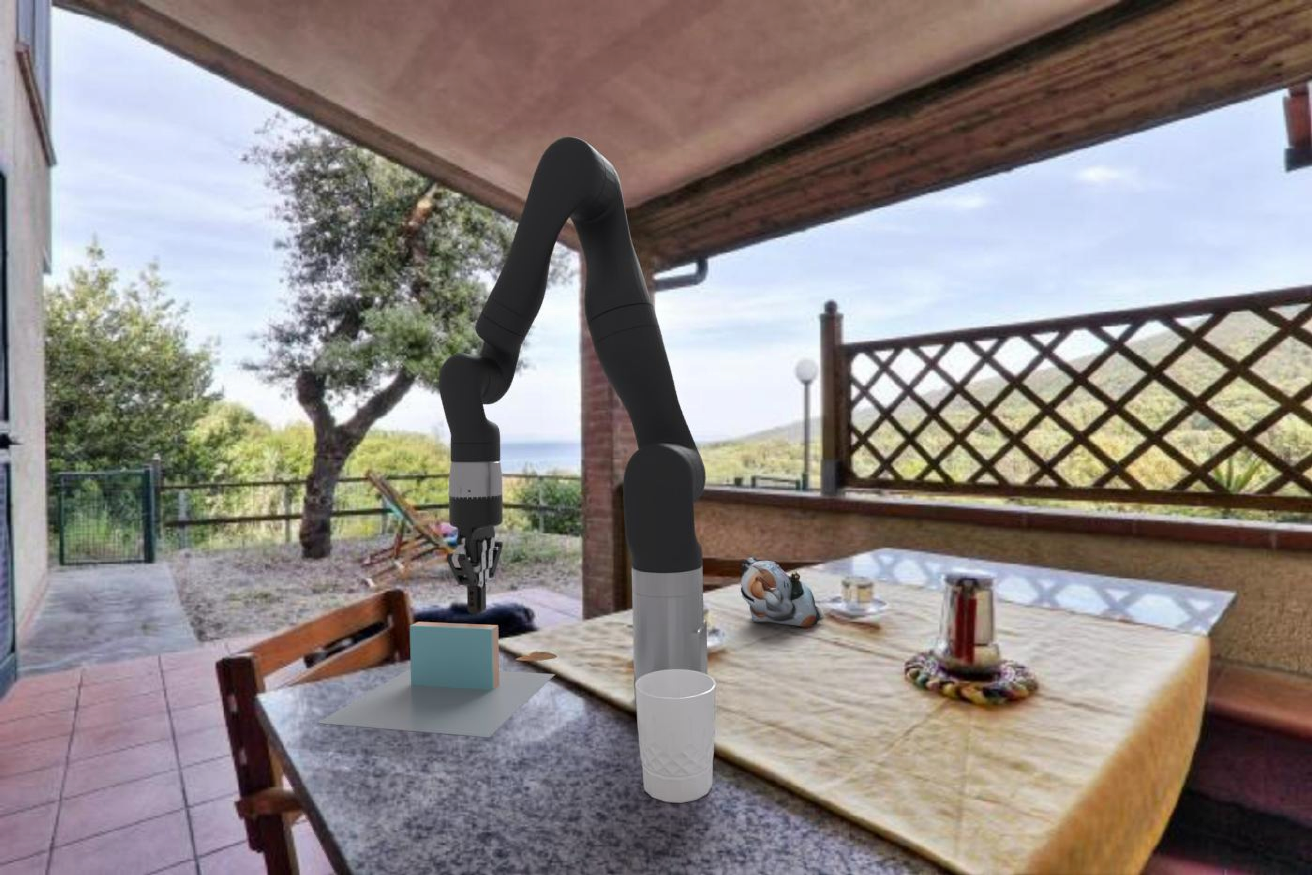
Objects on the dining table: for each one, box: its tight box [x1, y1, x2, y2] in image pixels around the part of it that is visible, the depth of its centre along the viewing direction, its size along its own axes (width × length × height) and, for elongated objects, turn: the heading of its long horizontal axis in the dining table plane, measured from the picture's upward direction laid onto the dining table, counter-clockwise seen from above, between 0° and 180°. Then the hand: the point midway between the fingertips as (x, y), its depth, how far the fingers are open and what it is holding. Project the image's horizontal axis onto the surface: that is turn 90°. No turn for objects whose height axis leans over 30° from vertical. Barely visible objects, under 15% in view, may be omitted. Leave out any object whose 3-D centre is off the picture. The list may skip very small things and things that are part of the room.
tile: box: [409, 621, 500, 690], centre depth 90 cm, size 12×2×8 cm, turn 77°
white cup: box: [635, 669, 717, 804], centre depth 65 cm, size 8×8×10 cm
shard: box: [516, 650, 558, 662], centre depth 100 cm, size 11×8×2 cm
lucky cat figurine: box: [740, 556, 824, 629], centre depth 121 cm, size 15×12×14 cm
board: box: [317, 667, 556, 738], centre depth 86 cm, size 22×20×1 cm
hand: (476, 611), depth 97 cm, fingers closed
